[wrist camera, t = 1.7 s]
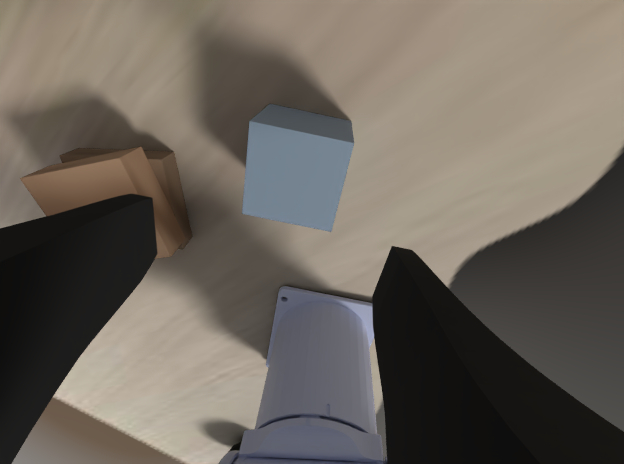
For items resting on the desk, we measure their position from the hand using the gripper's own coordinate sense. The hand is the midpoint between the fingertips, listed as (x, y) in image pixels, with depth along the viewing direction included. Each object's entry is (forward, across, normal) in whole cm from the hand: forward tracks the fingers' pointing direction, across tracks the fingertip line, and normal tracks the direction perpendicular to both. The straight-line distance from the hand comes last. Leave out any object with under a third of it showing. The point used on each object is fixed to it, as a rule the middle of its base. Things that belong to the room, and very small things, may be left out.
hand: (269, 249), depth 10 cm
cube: (+10, 0, 0) cm, 10 cm away
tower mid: (+8, +10, +5) cm, 14 cm away
